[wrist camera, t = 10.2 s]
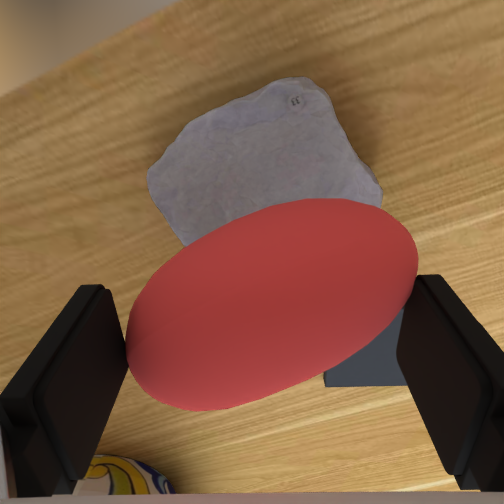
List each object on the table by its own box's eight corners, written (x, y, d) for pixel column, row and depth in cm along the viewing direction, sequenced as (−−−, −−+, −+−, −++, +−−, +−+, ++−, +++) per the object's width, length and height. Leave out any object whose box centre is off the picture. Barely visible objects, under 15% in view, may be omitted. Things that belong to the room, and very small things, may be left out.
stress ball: (124, 190, 13) (32, 367, 10) (394, 122, 9) (393, 402, 5) (204, 268, 17) (157, 416, 13) (424, 248, 12) (433, 461, 9)
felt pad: (328, 302, 28) (331, 310, 27) (436, 299, 28) (442, 307, 27) (323, 378, 32) (325, 387, 31) (418, 376, 32) (422, 385, 31)
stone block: (146, 165, 25) (231, 284, 27) (114, 173, 20) (220, 315, 22) (301, 51, 22) (382, 194, 24) (304, 31, 17) (404, 210, 19)
